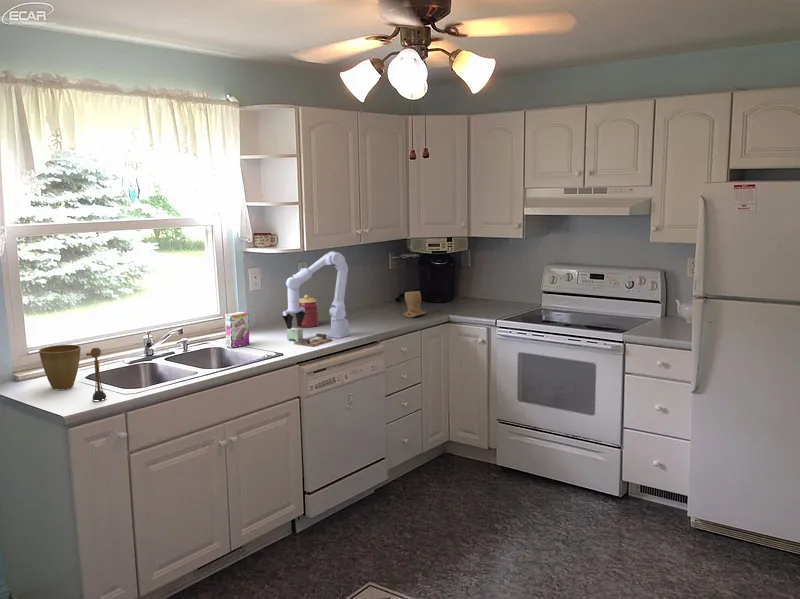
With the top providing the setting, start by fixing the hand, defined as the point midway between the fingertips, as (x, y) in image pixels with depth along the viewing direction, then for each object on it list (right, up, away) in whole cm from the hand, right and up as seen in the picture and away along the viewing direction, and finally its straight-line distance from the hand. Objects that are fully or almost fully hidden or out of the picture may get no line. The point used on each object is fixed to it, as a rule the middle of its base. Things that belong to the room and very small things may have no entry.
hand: (294, 327), depth 362 cm
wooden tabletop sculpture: (-59, -23, -96) cm, 115 cm away
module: (0, -7, +1) cm, 7 cm away
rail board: (+10, -7, -4) cm, 13 cm away
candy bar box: (-27, -9, -9) cm, 29 cm away
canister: (+1, -1, +40) cm, 40 cm away
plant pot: (-80, -21, -79) cm, 114 cm away
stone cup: (+62, +4, +65) cm, 90 cm away
